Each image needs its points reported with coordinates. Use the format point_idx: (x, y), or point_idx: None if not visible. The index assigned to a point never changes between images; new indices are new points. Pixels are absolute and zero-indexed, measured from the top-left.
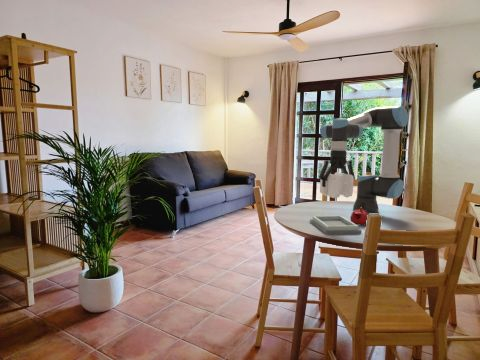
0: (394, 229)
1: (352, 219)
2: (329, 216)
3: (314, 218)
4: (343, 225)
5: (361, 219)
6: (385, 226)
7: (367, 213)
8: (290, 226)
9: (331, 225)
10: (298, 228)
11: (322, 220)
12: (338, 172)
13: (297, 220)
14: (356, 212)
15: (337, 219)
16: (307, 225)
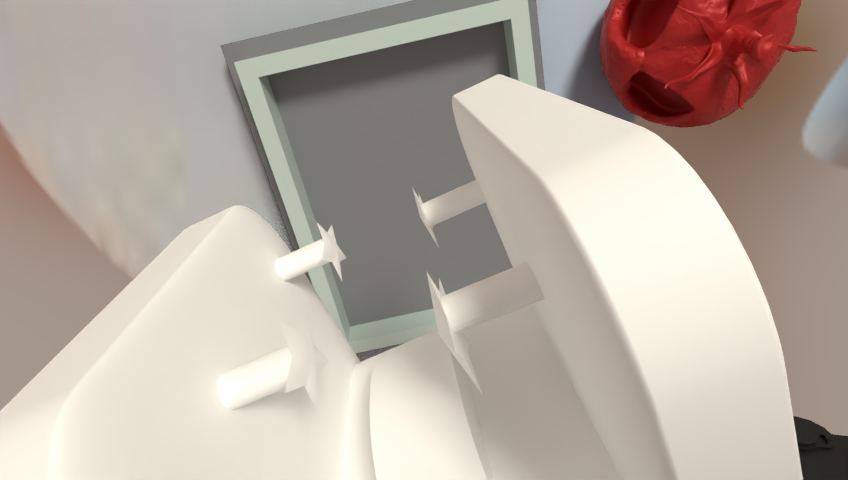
0: (839, 164)
1: (606, 73)
2: (404, 42)
3: (255, 112)
4: (482, 206)
5: (667, 125)
6: (829, 91)
7: (793, 30)
8: (81, 215)
9: (390, 222)
10: (150, 254)
11: (336, 77)
12: (763, 380)
13: (104, 6)
14: (676, 69)
15: (482, 25)
16: (211, 165)
